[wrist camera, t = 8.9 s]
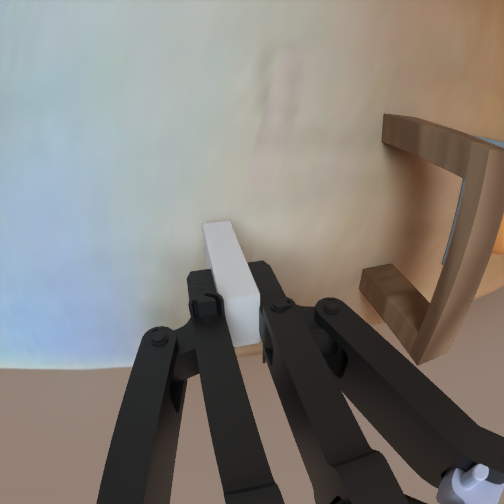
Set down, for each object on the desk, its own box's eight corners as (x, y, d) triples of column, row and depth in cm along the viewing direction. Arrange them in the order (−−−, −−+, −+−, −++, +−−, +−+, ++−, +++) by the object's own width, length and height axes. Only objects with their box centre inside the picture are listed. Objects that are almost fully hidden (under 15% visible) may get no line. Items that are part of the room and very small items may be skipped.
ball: (504, 245, 26) (463, 234, 28) (518, 198, 23) (476, 184, 25) (519, 269, 21) (475, 257, 23) (538, 215, 19) (492, 199, 21)
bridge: (359, 288, 26) (417, 365, 18) (383, 113, 19) (489, 149, 11) (386, 282, 27) (447, 352, 19) (415, 117, 19) (516, 153, 11)
